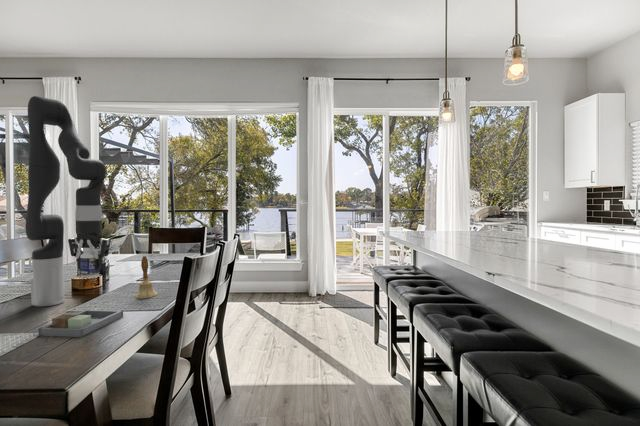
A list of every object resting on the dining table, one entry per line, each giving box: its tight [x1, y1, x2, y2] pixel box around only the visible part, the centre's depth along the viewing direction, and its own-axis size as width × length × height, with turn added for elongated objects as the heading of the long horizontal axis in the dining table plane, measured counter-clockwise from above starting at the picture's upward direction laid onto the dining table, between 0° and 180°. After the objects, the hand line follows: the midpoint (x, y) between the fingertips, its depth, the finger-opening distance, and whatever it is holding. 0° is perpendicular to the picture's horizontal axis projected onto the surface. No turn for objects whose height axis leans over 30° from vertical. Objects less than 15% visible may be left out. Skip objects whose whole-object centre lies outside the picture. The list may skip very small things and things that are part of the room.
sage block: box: [68, 315, 91, 329], centre depth 108 cm, size 4×4×4 cm
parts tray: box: [37, 309, 124, 338], centre depth 112 cm, size 13×18×2 cm
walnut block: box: [51, 313, 76, 328], centre depth 108 cm, size 4×4×4 cm
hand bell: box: [134, 255, 158, 299], centre depth 149 cm, size 8×8×16 cm
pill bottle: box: [79, 248, 100, 278], centre depth 125 cm, size 5×5×10 cm
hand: (90, 269), depth 125 cm, fingers closed on pill bottle, 5 cm apart
